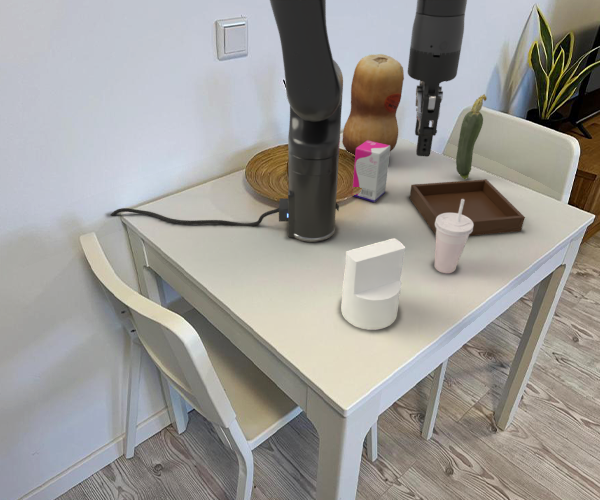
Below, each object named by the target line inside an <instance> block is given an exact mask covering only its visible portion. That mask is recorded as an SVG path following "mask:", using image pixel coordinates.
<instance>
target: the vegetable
mask: <svg viewBox="0 0 600 500" xmlns="http://www.w3.org/2000/svg"><path fill="white" fill-rule="evenodd" d="M487 99H488V97H487V95H486V94H485V93H483V94H482V95H480V96H479V97H478V98H476V100H474V103H473V104H472V107H471V109H470V111H468V112H467V113H466V114H465V115H464V117H463V119H462V122H461V125H460V130H459V131H460V132H459V138H458V144H457V151H456V156H455V166H456V172H457V174H458V175H459V177H461V179H463V180H464V181H467V180H466V179H469V175H470V173H471V170H472V164H473V163H472V162H473V154H474V147H475V144H476V142H477V139H478V138H479V135H480V133H481V130H482V128H483V124H484V116H483V114H482V113H481V110H482V108H483V104H484V102H485V101H487Z"/></svg>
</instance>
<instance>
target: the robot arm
mask: <svg viewBox="0 0 600 500" xmlns="http://www.w3.org/2000/svg"><path fill="white" fill-rule="evenodd" d="M269 3H270V7H271V11H272V14H273V18H274V20H275V24H276V28H277V31H278V36H279V39H280V41H279V42H280V46H281V52H282V53H281V54H282V63H283V70H284V81H285V92H286V93H285V94H286V99H287V101H288V104H289V125H288V135H287V136H288V137H287V143H288V144H287V151H288V159H287V160H288V162H287V163H288V164H287V165H288V172H287V173H288V189H287V198H284V197H283V198H279V201H278V202H279V203H278V208H275V209H272V210H268V211H266V212H264V213H262V214H261V215H260V216H259V217H258V219H257V221H254V222H248V223H246V222H245V223H244V222H236V221H229V220H223V219H199V220H198V219H197V220H196V219H195V220H183V219H175V218H171V217H167V216H163V215H162V214H158V213H156V212H154V211H153V212H152V211H148V210H141V209H137V208H130V207H129V208H128V207H121V208H117V209H116V210H114V211H112V212H111V213H110V216H111V217H114V216H116V215H117V214H119V213H125V212H126V213H134V214H139V215H147V216H151V217H153V218H154V217H155V218H157V219H160V220H163V221H165V222H168V223H174V224H180V225H209V224H211V225H213V224H214V225H227V226H235V227H237V226H238V227H256V226H259V225H261V223H262V221H263V220H264V218H266V217H268V216H269V215H274V214H277V213H278V222H281V223H283V222H287V235H288V238H294V239H296V240H298V241H302V242H307V243H316V242H323V241H326V240H328V239H330V238H331V237H332V236H334V234H335V232H336V213H337V212H339V210H340V205H339V204H338V203H337V197H338V196H337V194H338V178H339V177H338V176H339V162H340V159H339V158H340V145H341V143H340V142H341V129H342V127H341V126H342V125H341V124H342V106H343V91H344V76H343V72H342V70H341V67H340V66H339V64H338V62H336V60H335V59H334V58H333V53H332V49H331V44H330V40H329V35H328V28H327V10H326V9H327V0H269ZM467 3H468V0H416V9H415V14H414V15H415V16H414V19H413V22H412V23H413V24H412V30H411V38H410V44H409V55H408V65H407V66H408V67H407V75H408V76H409V77H410V78H411V79H413V80H416V81H419V84H417V85H416V88H415V107H416V109H415V111H416V119H415V120H416V121H415V129H414V134H415V136H417V143H416V151H415V153H416V156H417V157H425V158H427V157H430V156H431V153H432V152H431V151H432V145H433V138H434V137H436V135H437V133H438V130H437V129H438V121H439V118H440V114H441V103H442V101H443V99H444V98H443V97H444V91H443V87H442V86H441V85H440V84H442V83H443V82H450V81H453V80H454V79H455V78H456V77H457V75H458V71H459V70H458V69H459V62H460V59H461V58H460V57H461V51H462V47H463V46H462V44H463V39H464V32H465V17H466V9H467ZM430 123H431V126H430Z"/></svg>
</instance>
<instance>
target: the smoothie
mask: <svg viewBox="0 0 600 500" xmlns="http://www.w3.org/2000/svg"><path fill="white" fill-rule="evenodd" d="M464 201H465V200H464V199H461V203H460V207H459V212H458V213H443V214H440V215H438V216H437V218H436V221H435V227H436V235H435V247H434V249H435V250H434V265H433V266H434V269H435V270H436V271H438V272H439V273H441V274H452V273H454V272H455V271H456V269H457V266H458V263H459V261H460V258H461V256H462V253H463V251H464V249H465V246H466V244H467V241H468V239H469V237H470V236H469V234H471V232H472V231H473V226H474V224H473V222H472V220H471V219H470V218H468V217H466V216H464V215H462V210H463V205H464Z"/></svg>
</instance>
